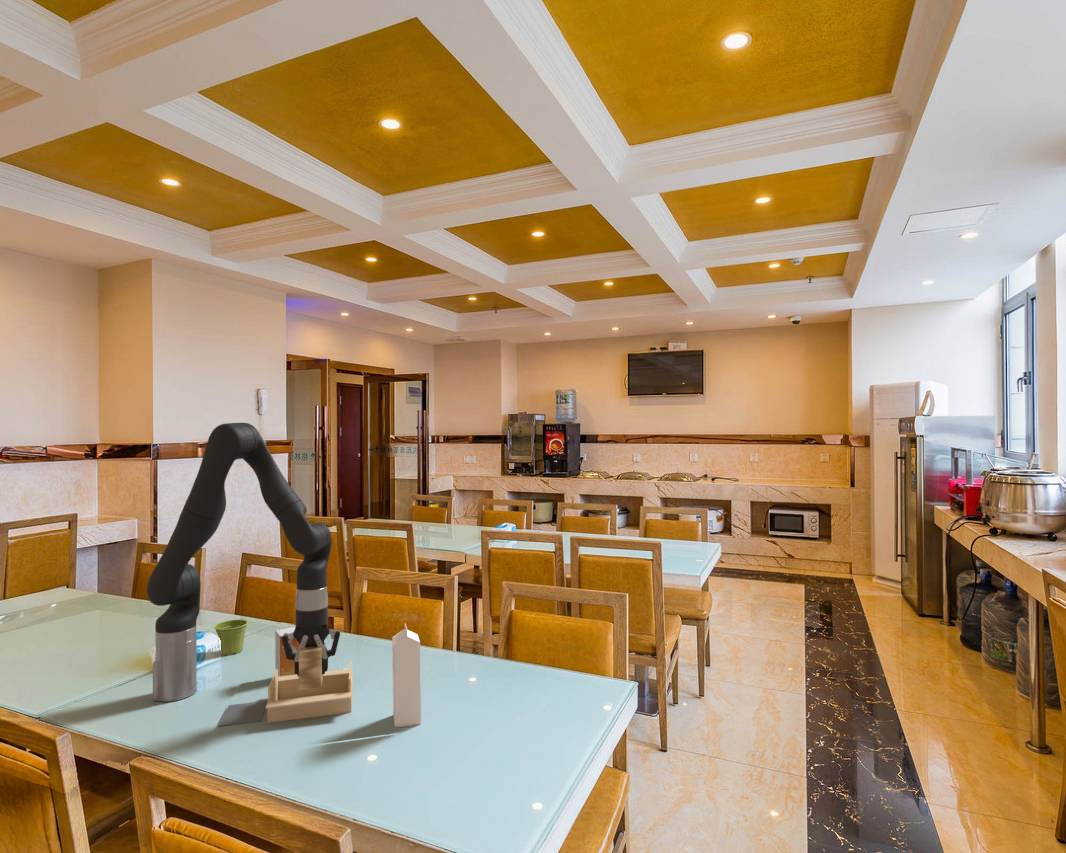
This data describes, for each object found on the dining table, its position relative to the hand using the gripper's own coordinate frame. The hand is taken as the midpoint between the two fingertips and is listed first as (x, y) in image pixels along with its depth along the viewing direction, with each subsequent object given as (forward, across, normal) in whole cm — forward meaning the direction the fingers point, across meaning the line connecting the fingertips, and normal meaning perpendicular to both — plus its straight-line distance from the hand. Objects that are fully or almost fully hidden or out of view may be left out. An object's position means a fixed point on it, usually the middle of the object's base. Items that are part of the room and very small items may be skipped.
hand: (311, 673), depth 149 cm
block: (+2, 0, 0) cm, 2 cm away
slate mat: (+8, -15, 0) cm, 17 cm away
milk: (+8, +22, -14) cm, 28 cm away
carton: (+8, 0, 0) cm, 8 cm away
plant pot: (+9, -28, +48) cm, 56 cm away
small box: (+8, -7, +21) cm, 23 cm away
